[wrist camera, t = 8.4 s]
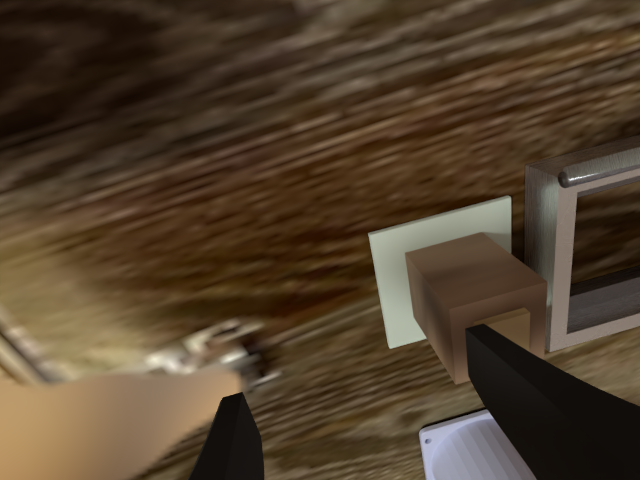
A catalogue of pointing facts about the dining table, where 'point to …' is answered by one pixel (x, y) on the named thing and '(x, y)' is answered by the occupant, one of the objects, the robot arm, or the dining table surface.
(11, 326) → the dining table surface
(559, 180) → the propped lid
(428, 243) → the green rubber mat
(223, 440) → the robot arm
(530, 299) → the walnut block
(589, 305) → the aluminium case
